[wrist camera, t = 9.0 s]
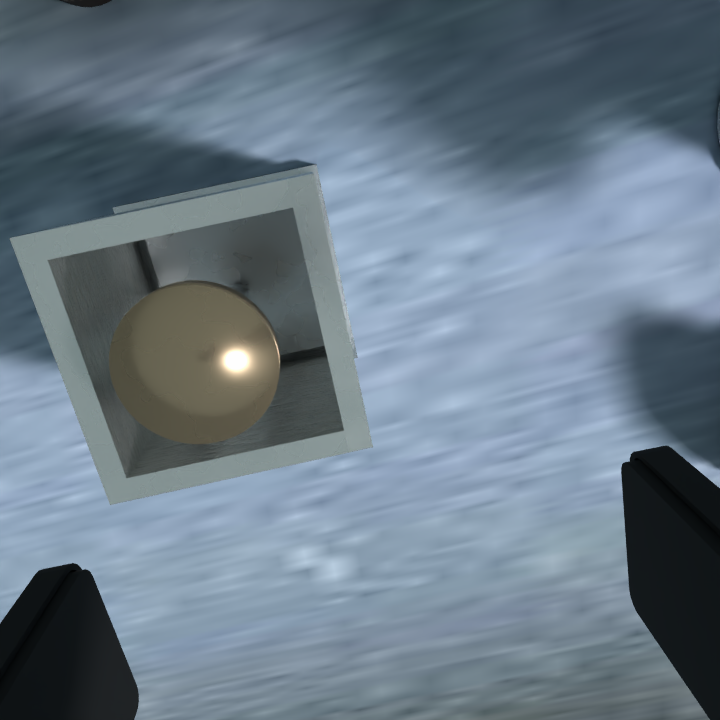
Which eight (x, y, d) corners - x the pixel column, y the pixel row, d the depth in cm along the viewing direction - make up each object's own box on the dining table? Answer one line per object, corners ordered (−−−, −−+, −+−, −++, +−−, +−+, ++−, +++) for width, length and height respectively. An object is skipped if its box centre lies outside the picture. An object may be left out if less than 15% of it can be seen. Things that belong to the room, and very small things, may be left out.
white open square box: (316, 164, 43) (320, 161, 26) (356, 351, 47) (382, 452, 30) (119, 206, 42) (-4, 230, 26) (177, 390, 47) (104, 513, 30)
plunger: (292, 203, 40) (281, 226, 24) (324, 342, 43) (334, 446, 27) (147, 234, 40) (37, 279, 24) (189, 371, 43) (117, 493, 27)
